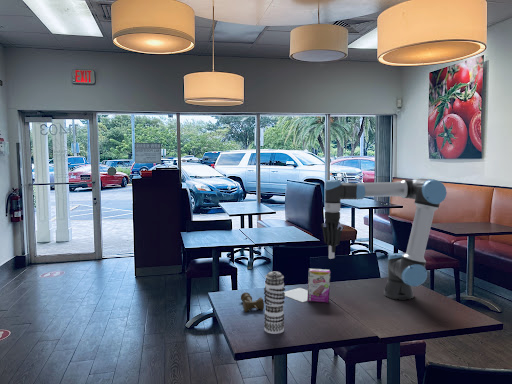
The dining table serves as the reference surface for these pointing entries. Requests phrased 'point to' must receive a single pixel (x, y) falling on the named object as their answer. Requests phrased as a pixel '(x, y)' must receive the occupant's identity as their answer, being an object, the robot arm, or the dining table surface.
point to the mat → (297, 294)
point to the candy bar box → (318, 285)
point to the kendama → (249, 304)
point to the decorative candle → (274, 303)
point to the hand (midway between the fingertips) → (331, 258)
